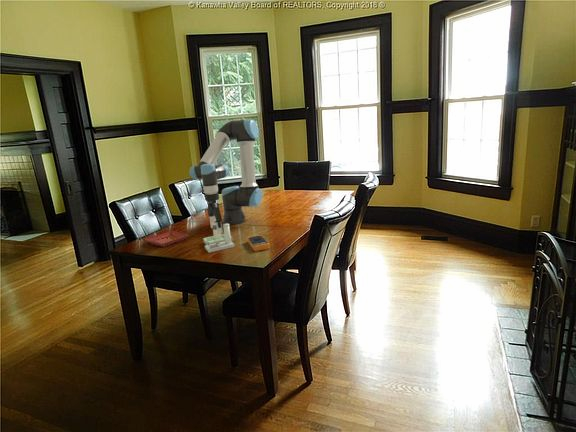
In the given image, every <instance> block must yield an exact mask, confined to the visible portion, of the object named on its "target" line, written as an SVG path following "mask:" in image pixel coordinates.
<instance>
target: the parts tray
mask: <svg viewBox="0 0 576 432" xmlns="http://www.w3.org/2000/svg"><path fill="white" fill-rule="evenodd" d="M221 238H222V239H221V240H216V241H214V235H212V236H208V237H203V239H202V240H203V243H204V244H205V246H206V245H210V244H215V243H218V242H224V241H225V236H224V233H221ZM231 242H233V243H234V239H233V236H231Z"/></svg>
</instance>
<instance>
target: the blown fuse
mask: <svg viewBox="0 0 576 432" xmlns="http://www.w3.org/2000/svg"><path fill="white" fill-rule="evenodd" d="M215 221H216V219H215V220H212V228H211V229H212V234H213V236H214V241H216V240H221V239H222V238H221V234H222V233H220V234H217V227H216V223H215Z"/></svg>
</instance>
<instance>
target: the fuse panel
mask: <svg viewBox="0 0 576 432" xmlns="http://www.w3.org/2000/svg"><path fill="white" fill-rule="evenodd" d="M230 248H231V249H232V248H235V243H234V241H233V242H231V243H230V244H226V243H225V241H224V242H218V243H215V244H210V245H206V244H205V245H204V249H205V250H206V251H207V253H209V254H210V253H215V252H217V251H218V252H219V251H222V250H227V249H230Z"/></svg>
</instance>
